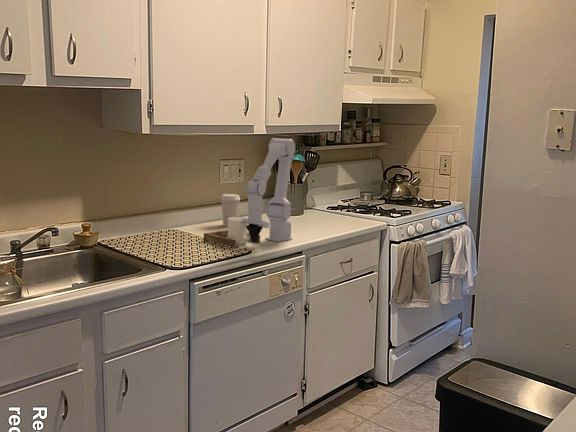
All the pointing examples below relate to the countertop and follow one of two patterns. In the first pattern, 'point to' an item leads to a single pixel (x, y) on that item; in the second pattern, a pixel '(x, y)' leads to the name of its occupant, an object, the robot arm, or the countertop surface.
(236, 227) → the mug
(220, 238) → the box
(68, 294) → the countertop surface
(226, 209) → the coffee cup
